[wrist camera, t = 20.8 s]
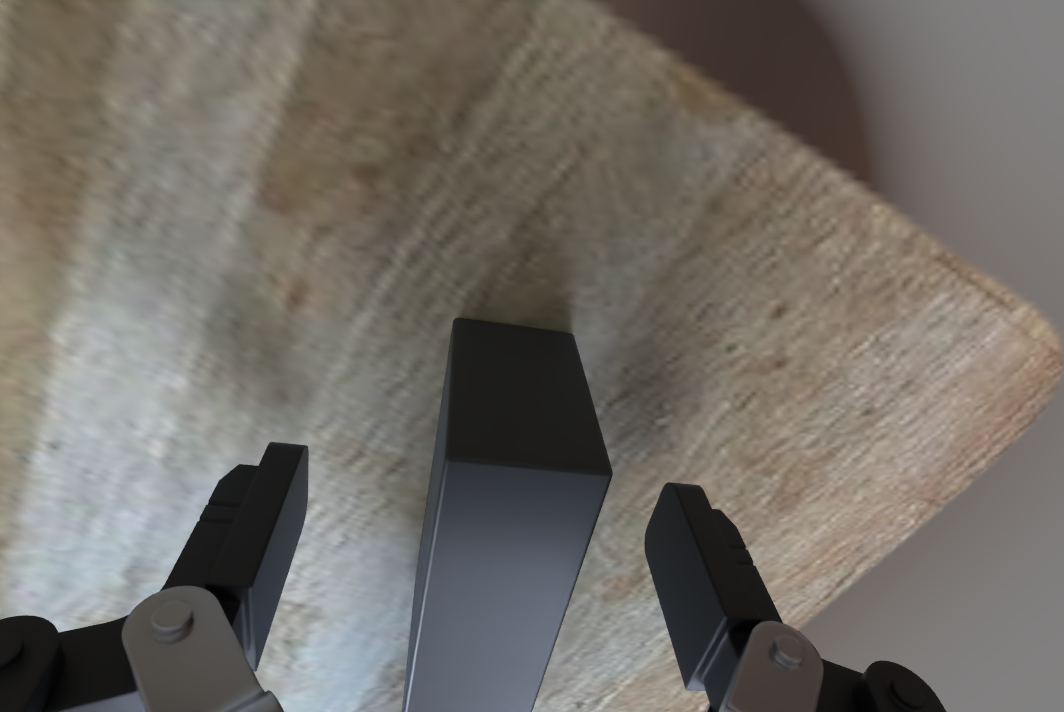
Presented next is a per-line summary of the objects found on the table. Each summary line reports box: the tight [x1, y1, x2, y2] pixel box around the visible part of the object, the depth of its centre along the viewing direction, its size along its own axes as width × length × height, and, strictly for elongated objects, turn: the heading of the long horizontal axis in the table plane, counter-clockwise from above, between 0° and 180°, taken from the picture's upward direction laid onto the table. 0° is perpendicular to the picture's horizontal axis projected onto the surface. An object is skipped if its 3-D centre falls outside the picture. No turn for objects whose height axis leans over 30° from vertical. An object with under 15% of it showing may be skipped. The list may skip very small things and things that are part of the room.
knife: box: [402, 318, 613, 712], centre depth 16 cm, size 19×3×4 cm, turn 169°
